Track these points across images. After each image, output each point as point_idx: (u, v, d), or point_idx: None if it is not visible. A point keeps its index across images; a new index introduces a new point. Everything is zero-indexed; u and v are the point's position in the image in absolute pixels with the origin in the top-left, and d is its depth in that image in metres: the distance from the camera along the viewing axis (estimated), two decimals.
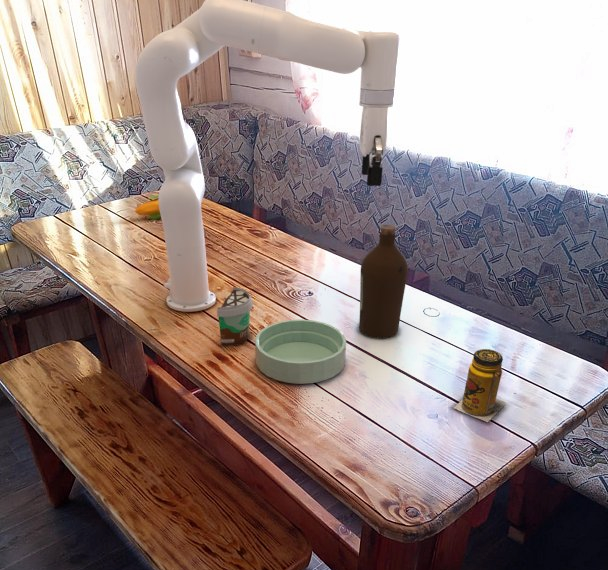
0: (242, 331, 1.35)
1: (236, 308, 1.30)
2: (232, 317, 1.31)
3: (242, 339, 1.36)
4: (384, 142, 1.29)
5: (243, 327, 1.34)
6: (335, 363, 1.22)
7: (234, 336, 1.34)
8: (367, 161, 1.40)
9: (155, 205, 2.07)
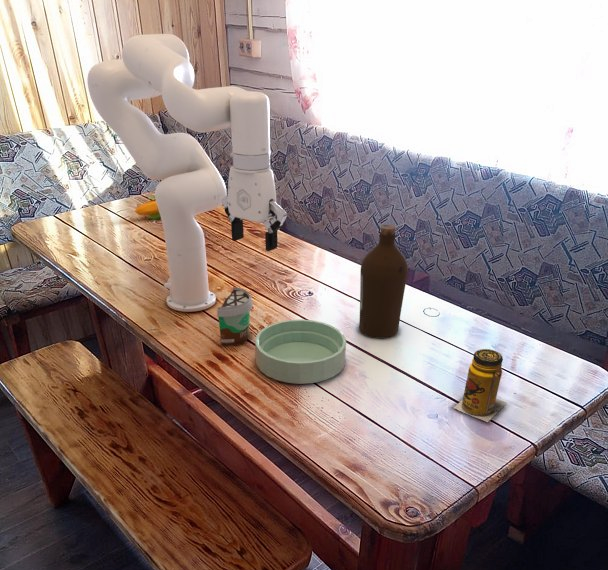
0: (242, 331, 1.35)
1: (236, 308, 1.30)
2: (232, 317, 1.31)
3: (242, 339, 1.36)
4: None
5: (243, 327, 1.34)
6: (335, 363, 1.22)
7: (234, 336, 1.34)
8: (237, 226, 1.29)
9: (155, 205, 2.07)
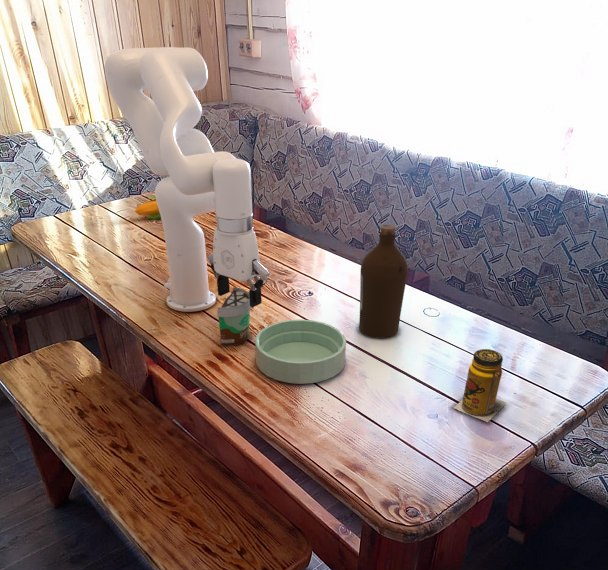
0: (242, 332, 1.35)
1: (236, 308, 1.30)
2: (232, 317, 1.31)
3: (242, 339, 1.36)
4: None
5: (243, 327, 1.34)
6: (335, 363, 1.22)
7: (234, 337, 1.34)
8: (222, 282, 1.33)
9: (155, 205, 2.07)
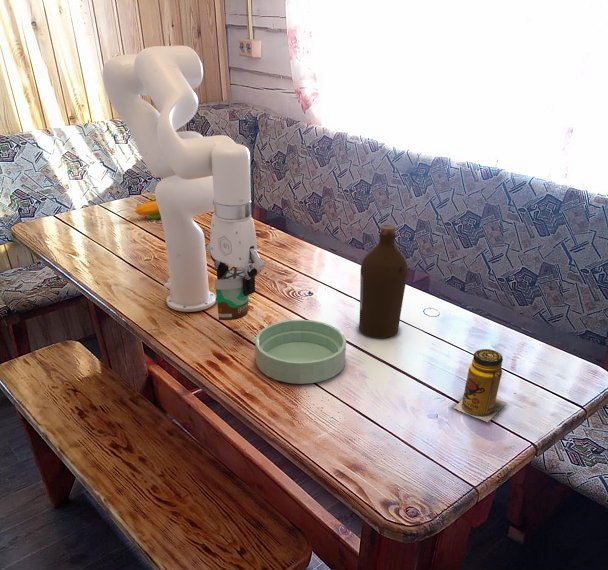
0: (240, 307, 1.32)
1: (234, 281, 1.27)
2: (230, 290, 1.28)
3: (240, 315, 1.33)
4: (256, 250, 1.25)
5: (241, 302, 1.31)
6: (335, 363, 1.22)
7: (232, 311, 1.31)
8: (222, 272, 1.32)
9: (155, 205, 2.07)
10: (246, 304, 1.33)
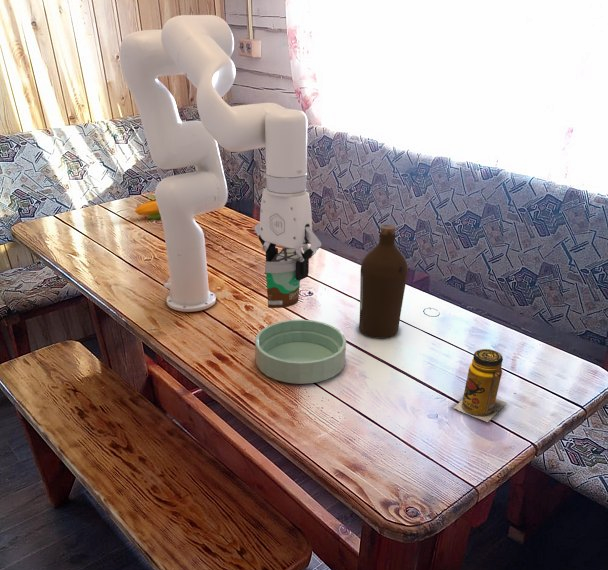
0: (291, 293, 1.20)
1: (287, 264, 1.15)
2: (282, 274, 1.16)
3: (291, 302, 1.21)
4: (311, 229, 1.13)
5: (293, 288, 1.19)
6: (335, 363, 1.22)
7: (283, 298, 1.19)
8: (271, 255, 1.20)
9: (155, 205, 2.07)
10: (297, 290, 1.21)
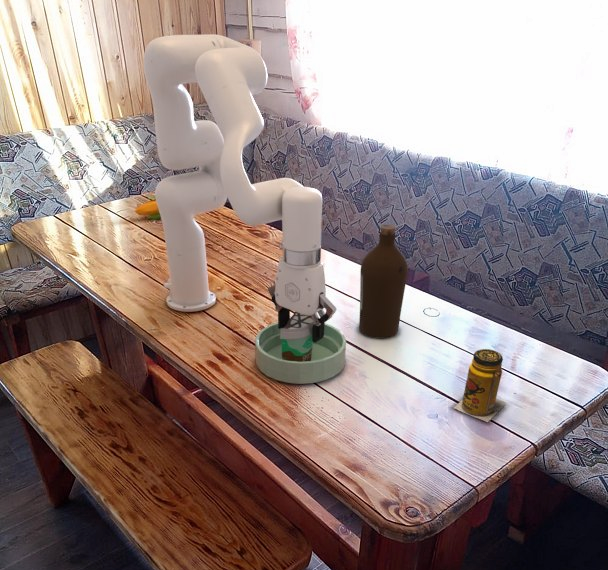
0: (305, 355, 1.25)
1: (301, 330, 1.20)
2: (296, 339, 1.21)
3: None
4: (325, 296, 1.19)
5: (306, 350, 1.25)
6: (335, 363, 1.22)
7: (297, 360, 1.25)
8: (283, 315, 1.26)
9: (155, 205, 2.07)
10: (310, 351, 1.27)
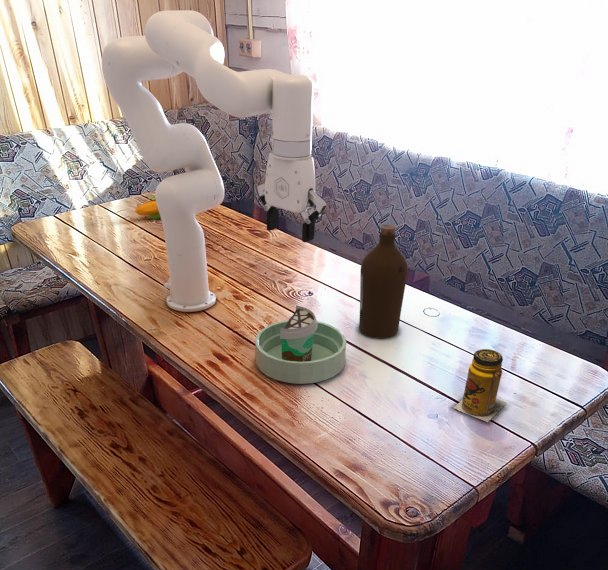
0: (305, 355, 1.25)
1: (301, 330, 1.20)
2: (296, 339, 1.21)
3: None
4: None
5: (306, 350, 1.25)
6: (335, 363, 1.22)
7: (297, 359, 1.25)
8: (272, 215, 1.24)
9: (155, 205, 2.07)
10: (310, 351, 1.27)
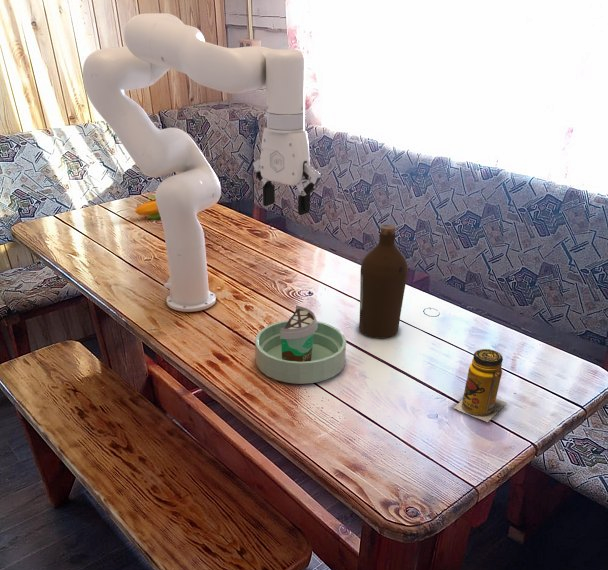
0: (305, 355, 1.25)
1: (301, 330, 1.20)
2: (296, 339, 1.21)
3: None
4: None
5: (306, 350, 1.25)
6: (335, 363, 1.22)
7: (297, 359, 1.25)
8: (268, 191, 1.27)
9: (155, 205, 2.07)
10: (310, 351, 1.27)
